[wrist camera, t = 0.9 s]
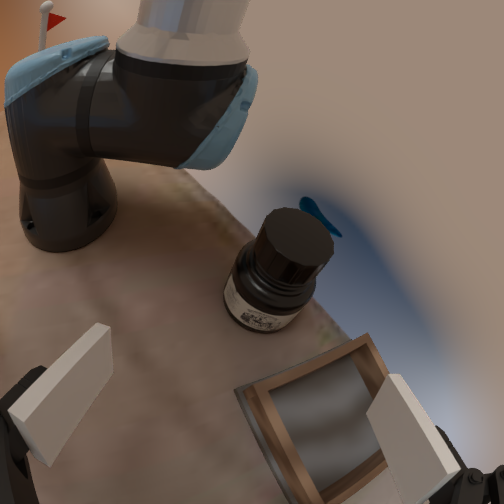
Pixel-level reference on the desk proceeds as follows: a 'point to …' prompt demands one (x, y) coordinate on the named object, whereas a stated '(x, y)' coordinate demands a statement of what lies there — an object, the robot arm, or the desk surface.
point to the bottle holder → (319, 423)
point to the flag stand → (47, 22)
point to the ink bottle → (277, 270)
